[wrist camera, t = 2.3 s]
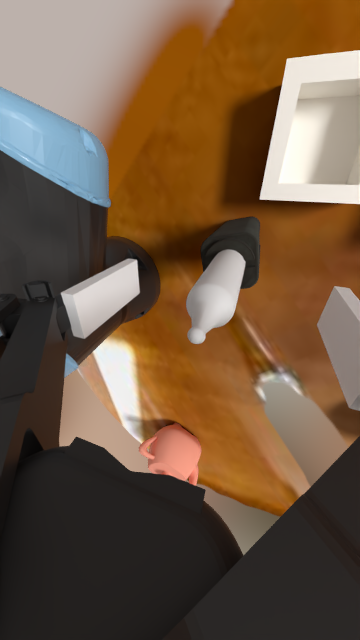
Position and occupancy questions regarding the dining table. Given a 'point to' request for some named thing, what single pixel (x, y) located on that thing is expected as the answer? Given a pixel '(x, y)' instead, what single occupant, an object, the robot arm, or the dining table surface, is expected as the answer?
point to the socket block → (316, 132)
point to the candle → (223, 275)
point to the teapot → (173, 453)
